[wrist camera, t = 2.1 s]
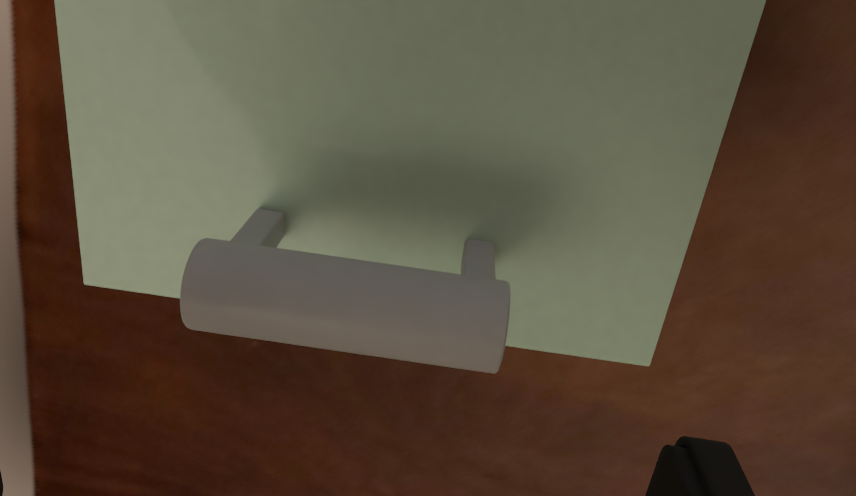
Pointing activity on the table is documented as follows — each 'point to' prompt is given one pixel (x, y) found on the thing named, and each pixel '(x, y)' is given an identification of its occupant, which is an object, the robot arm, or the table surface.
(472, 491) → the table surface
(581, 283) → the lid
